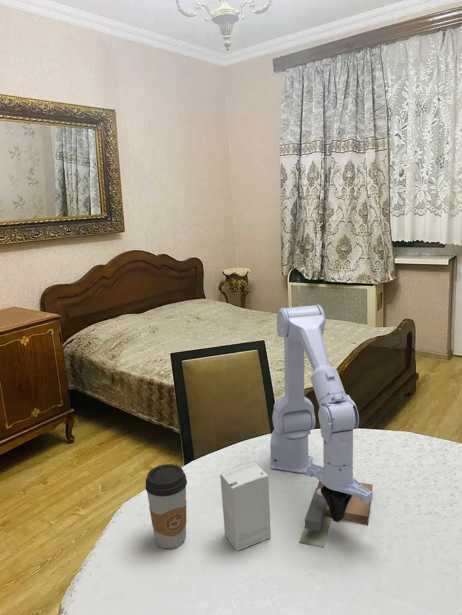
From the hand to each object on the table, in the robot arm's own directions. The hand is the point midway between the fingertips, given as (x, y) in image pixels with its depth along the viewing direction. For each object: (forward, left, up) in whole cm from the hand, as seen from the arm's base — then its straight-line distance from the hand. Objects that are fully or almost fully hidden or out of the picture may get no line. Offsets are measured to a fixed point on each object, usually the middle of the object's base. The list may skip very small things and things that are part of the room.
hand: (337, 519), depth 101 cm
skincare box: (-17, -7, -3) cm, 19 cm away
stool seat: (-1, +5, -3) cm, 6 cm away
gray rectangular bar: (-4, +2, -1) cm, 5 cm away
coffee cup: (-32, -12, -3) cm, 35 cm away
